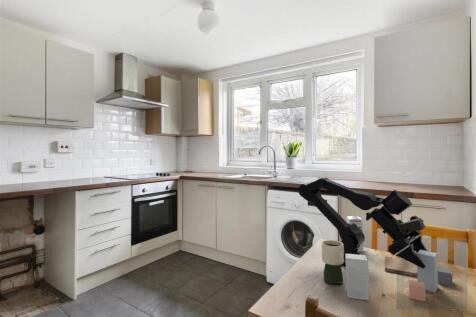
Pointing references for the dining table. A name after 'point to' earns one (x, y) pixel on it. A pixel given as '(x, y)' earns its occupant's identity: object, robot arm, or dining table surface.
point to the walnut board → (400, 266)
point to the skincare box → (357, 276)
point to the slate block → (428, 270)
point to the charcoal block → (445, 276)
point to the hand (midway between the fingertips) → (427, 263)
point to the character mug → (333, 260)
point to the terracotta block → (416, 290)
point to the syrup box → (358, 222)
